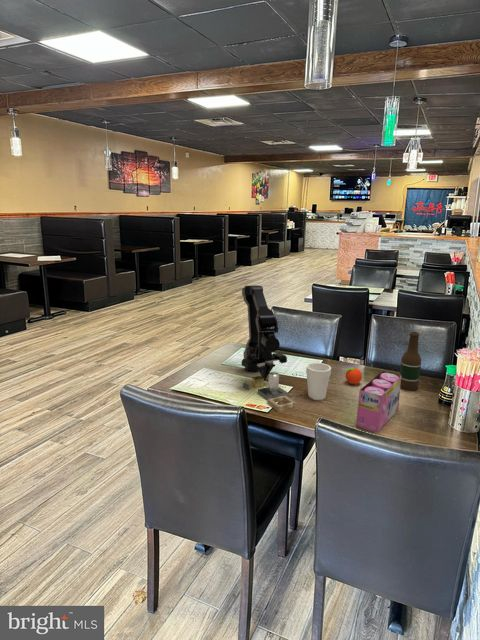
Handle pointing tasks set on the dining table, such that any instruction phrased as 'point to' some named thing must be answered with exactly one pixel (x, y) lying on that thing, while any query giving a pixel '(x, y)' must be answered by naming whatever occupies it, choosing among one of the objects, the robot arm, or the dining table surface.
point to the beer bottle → (411, 365)
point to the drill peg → (273, 383)
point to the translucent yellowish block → (257, 381)
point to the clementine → (353, 375)
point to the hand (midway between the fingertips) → (263, 380)
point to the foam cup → (317, 380)
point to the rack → (277, 407)
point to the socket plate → (265, 394)
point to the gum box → (378, 401)
